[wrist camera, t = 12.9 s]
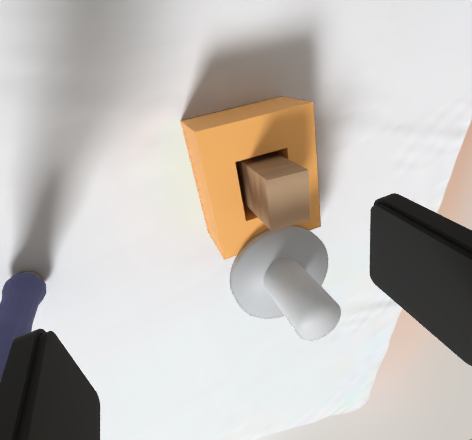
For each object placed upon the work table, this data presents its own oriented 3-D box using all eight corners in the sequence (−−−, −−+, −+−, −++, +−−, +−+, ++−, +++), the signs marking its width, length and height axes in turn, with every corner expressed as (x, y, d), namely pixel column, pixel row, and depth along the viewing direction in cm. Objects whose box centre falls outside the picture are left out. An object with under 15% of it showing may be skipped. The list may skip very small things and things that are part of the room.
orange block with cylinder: (180, 120, 36) (224, 155, 22) (281, 96, 38) (376, 113, 25) (223, 292, 47) (269, 386, 33) (298, 264, 50) (371, 341, 36)
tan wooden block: (225, 149, 39) (266, 180, 28) (257, 142, 40) (308, 169, 29) (231, 189, 41) (271, 231, 31) (261, 182, 42) (309, 220, 32)
